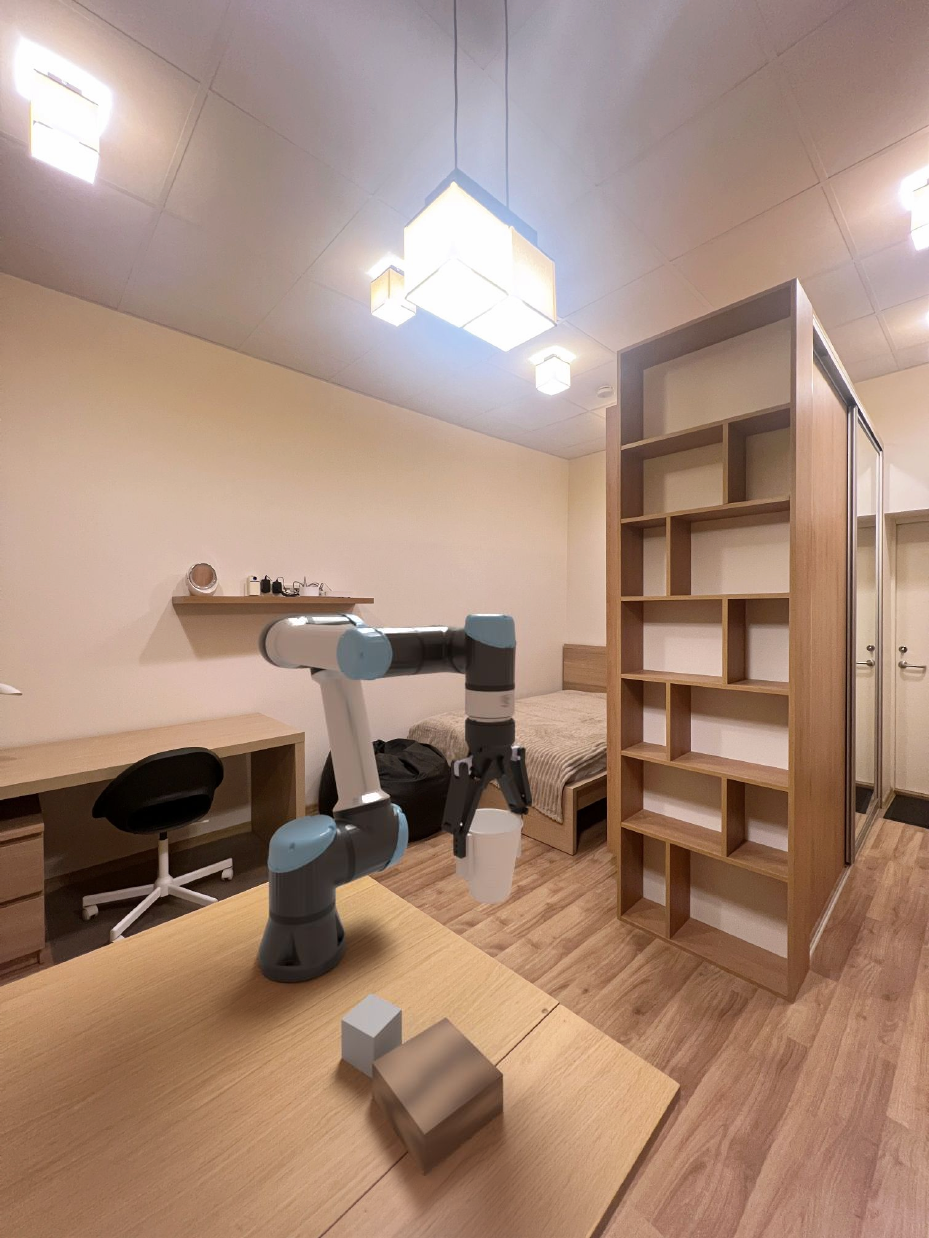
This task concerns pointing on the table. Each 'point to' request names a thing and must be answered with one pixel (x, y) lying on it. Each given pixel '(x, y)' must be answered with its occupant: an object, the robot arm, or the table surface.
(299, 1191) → the table surface
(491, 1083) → the walnut block
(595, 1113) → the table surface
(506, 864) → the cup
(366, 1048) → the grey cube
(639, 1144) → the table surface
